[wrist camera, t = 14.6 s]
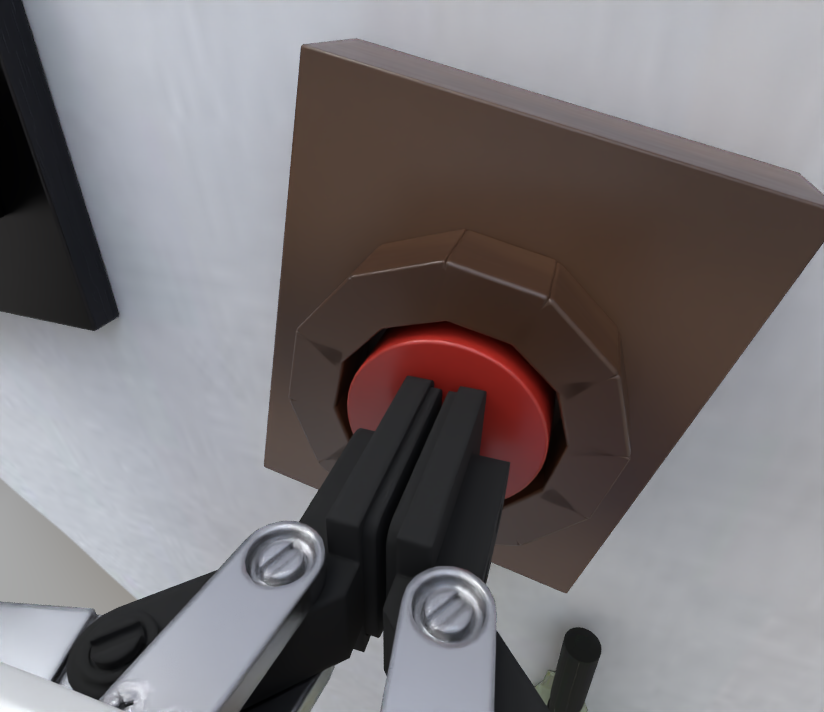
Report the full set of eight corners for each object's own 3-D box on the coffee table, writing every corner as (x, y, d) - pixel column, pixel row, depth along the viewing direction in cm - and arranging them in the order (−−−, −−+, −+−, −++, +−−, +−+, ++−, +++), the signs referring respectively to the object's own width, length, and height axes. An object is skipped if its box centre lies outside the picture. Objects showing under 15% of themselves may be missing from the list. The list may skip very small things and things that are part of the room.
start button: (393, 274, 12) (363, 309, 10) (588, 344, 11) (584, 390, 10) (360, 417, 14) (333, 462, 13) (518, 480, 14) (507, 533, 12)
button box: (355, 37, 12) (247, 48, 9) (802, 173, 11) (892, 252, 7) (302, 415, 19) (230, 509, 16) (572, 524, 18) (561, 653, 14)
